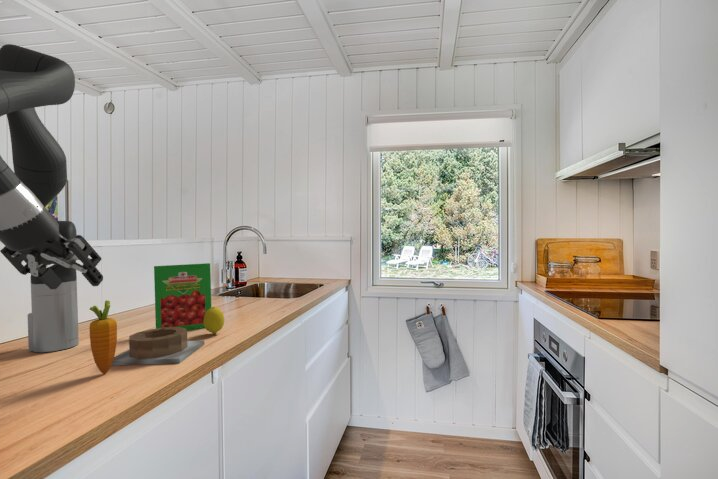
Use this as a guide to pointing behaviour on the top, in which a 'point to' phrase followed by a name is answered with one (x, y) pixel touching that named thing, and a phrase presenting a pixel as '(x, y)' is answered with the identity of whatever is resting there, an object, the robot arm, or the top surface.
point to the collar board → (158, 347)
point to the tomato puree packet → (182, 295)
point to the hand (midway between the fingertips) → (77, 284)
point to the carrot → (103, 338)
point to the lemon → (213, 320)
